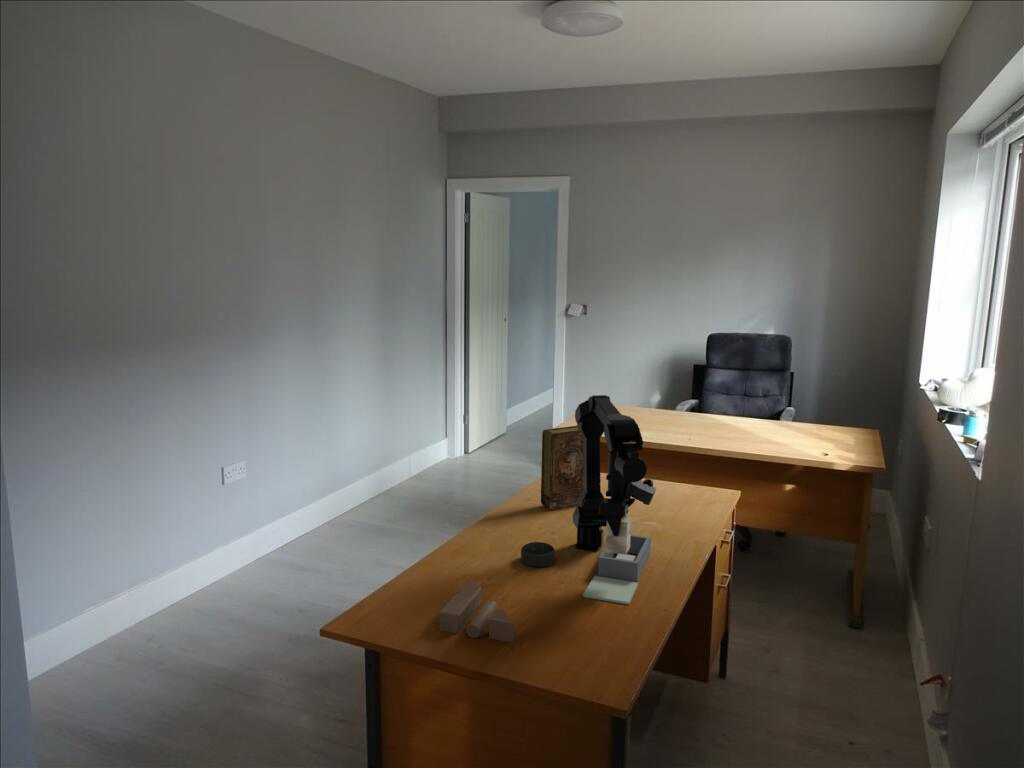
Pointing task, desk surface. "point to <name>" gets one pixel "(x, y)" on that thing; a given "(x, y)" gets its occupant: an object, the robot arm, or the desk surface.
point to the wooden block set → (462, 611)
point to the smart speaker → (537, 554)
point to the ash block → (619, 537)
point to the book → (561, 467)
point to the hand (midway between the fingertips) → (618, 532)
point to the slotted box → (626, 560)
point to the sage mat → (611, 590)
